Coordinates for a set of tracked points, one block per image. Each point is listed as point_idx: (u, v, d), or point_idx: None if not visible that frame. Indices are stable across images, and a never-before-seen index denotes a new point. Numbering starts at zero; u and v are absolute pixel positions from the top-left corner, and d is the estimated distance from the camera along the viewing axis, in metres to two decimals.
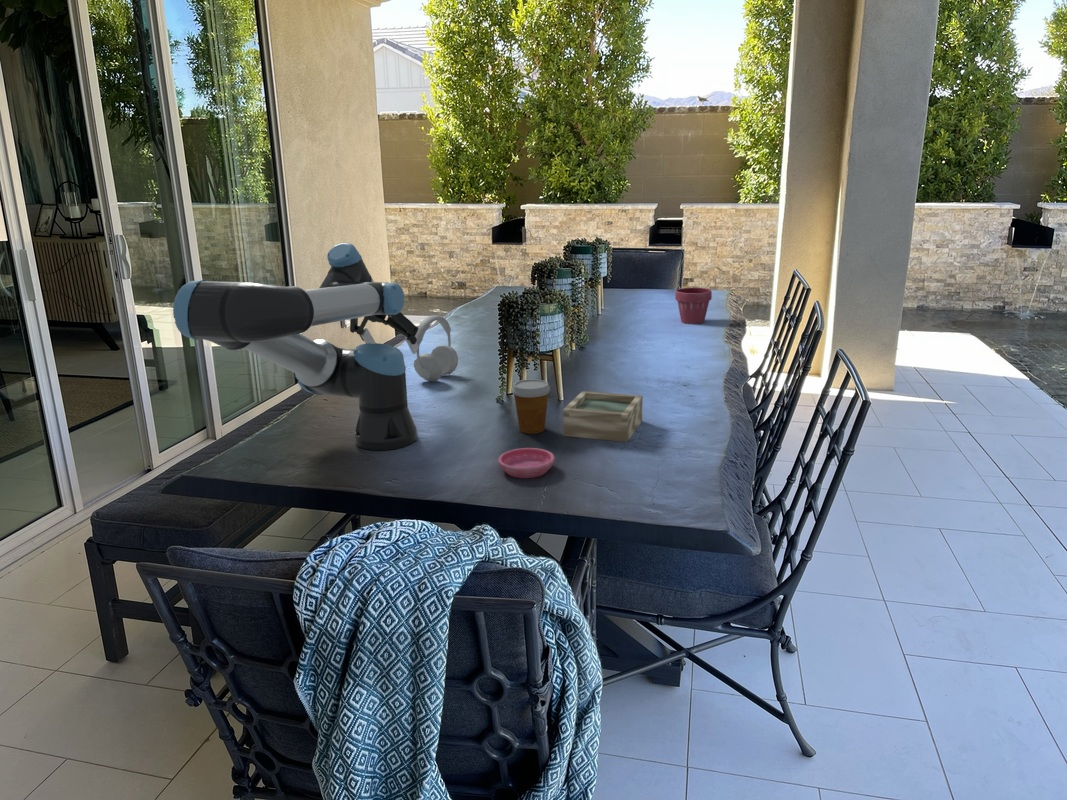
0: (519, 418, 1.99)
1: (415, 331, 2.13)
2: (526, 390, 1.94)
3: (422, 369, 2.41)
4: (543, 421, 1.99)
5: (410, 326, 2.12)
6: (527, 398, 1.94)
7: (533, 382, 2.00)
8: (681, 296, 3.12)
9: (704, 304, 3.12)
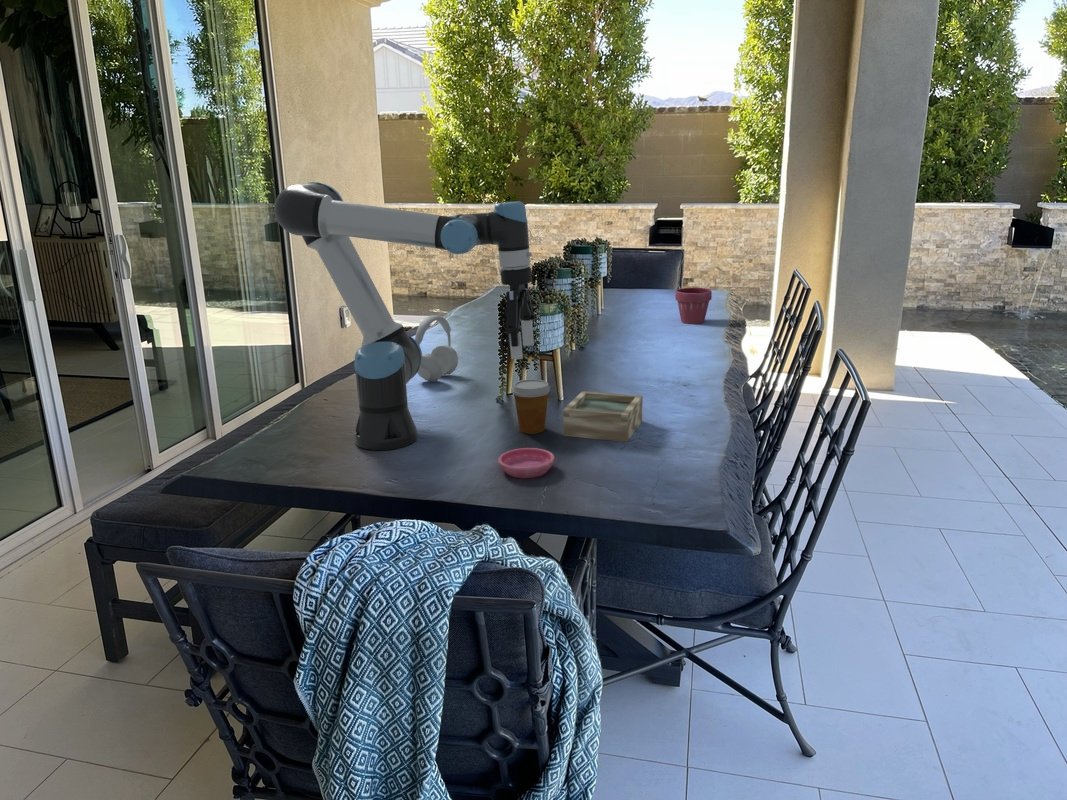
0: (519, 418, 1.99)
1: (510, 328, 1.89)
2: (526, 390, 1.94)
3: (422, 369, 2.41)
4: (543, 421, 1.99)
5: (510, 320, 1.89)
6: (527, 398, 1.94)
7: (533, 382, 2.00)
8: (681, 296, 3.12)
9: (704, 304, 3.12)
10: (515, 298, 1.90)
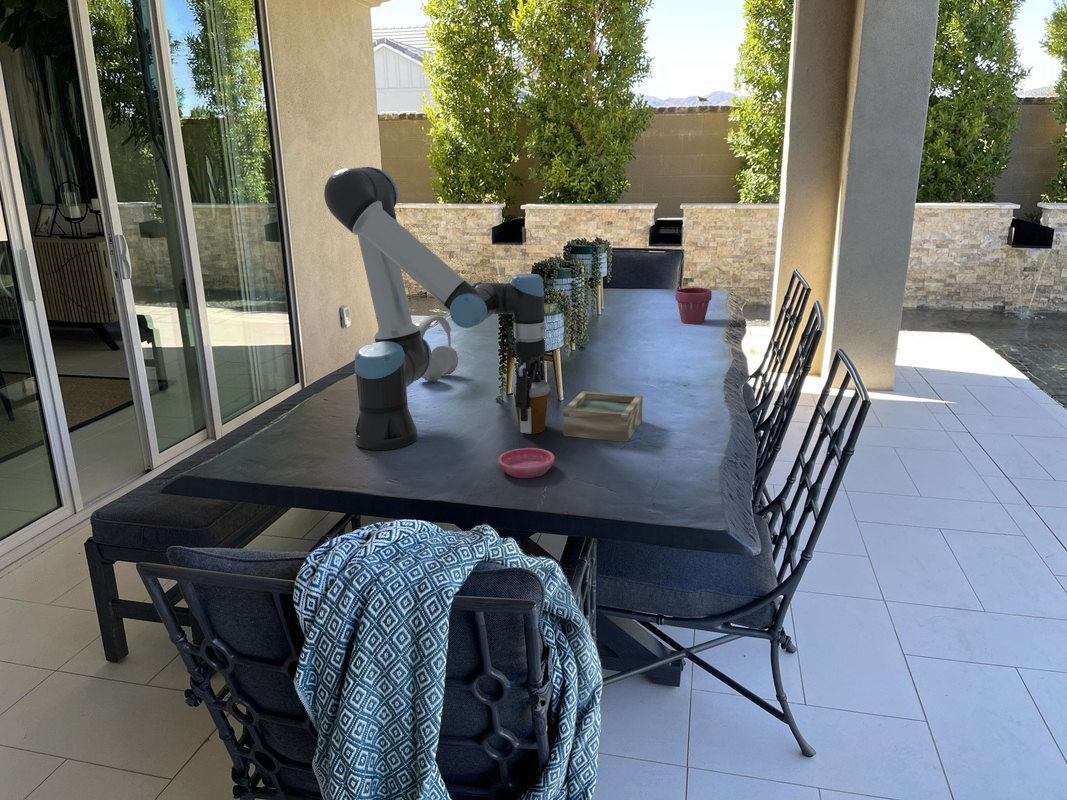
0: (519, 418, 1.99)
1: (519, 405, 1.92)
2: None
3: None
4: (543, 421, 1.99)
5: (520, 397, 1.92)
6: None
7: (533, 382, 2.00)
8: (681, 296, 3.12)
9: (704, 304, 3.12)
10: (524, 375, 1.90)
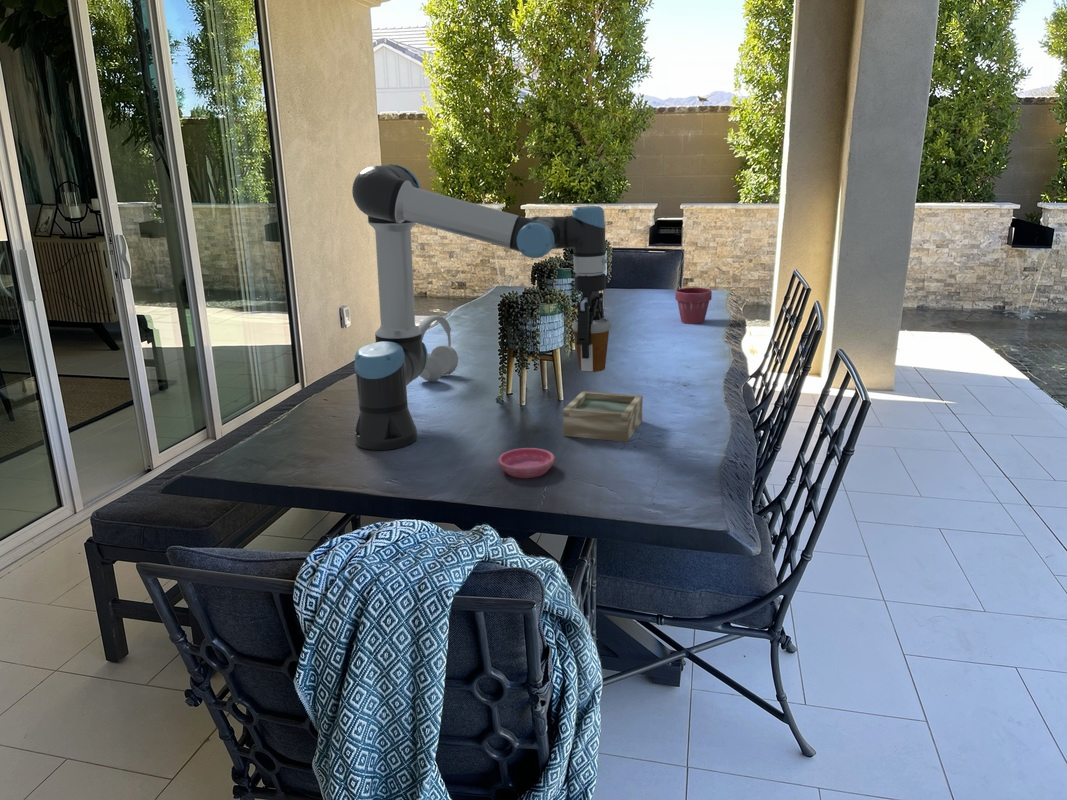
0: (579, 356, 1.93)
1: (581, 341, 1.87)
2: None
3: None
4: (604, 359, 1.94)
5: (581, 332, 1.87)
6: None
7: (593, 320, 1.95)
8: (681, 296, 3.12)
9: (704, 304, 3.12)
10: (586, 310, 1.85)
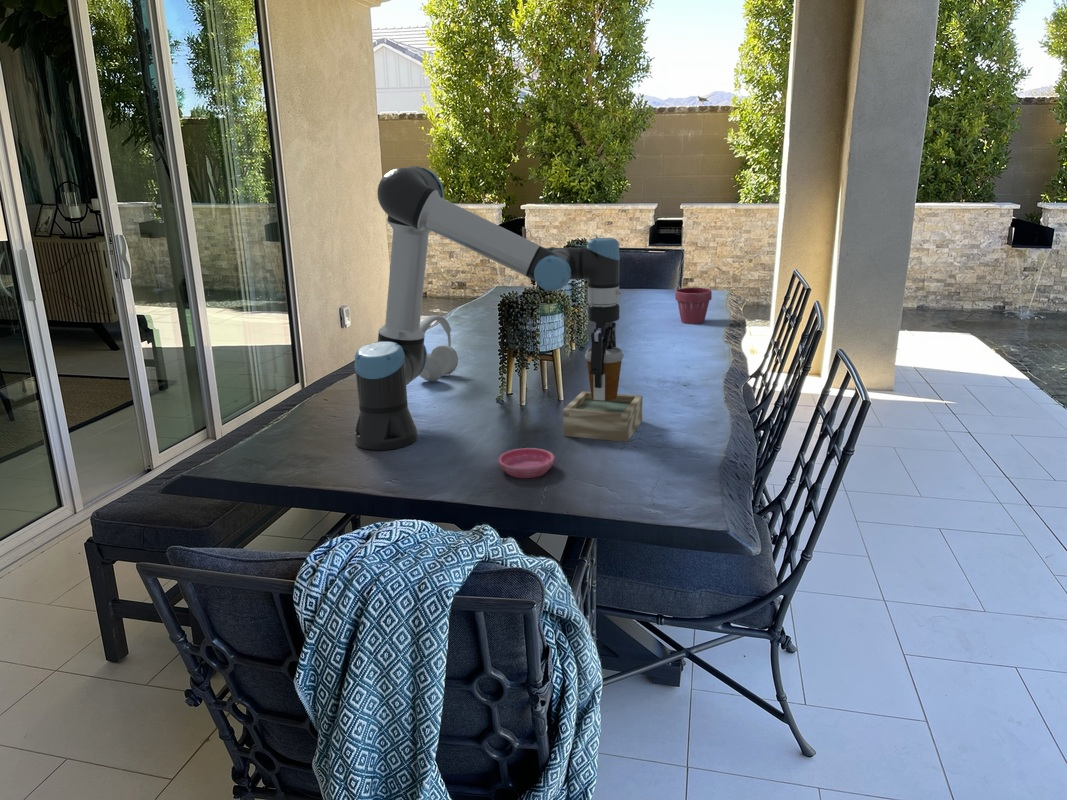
0: (592, 385, 1.96)
1: (594, 371, 1.89)
2: None
3: None
4: (616, 388, 1.96)
5: (595, 362, 1.89)
6: None
7: None
8: (681, 296, 3.12)
9: (704, 304, 3.12)
10: (600, 340, 1.88)
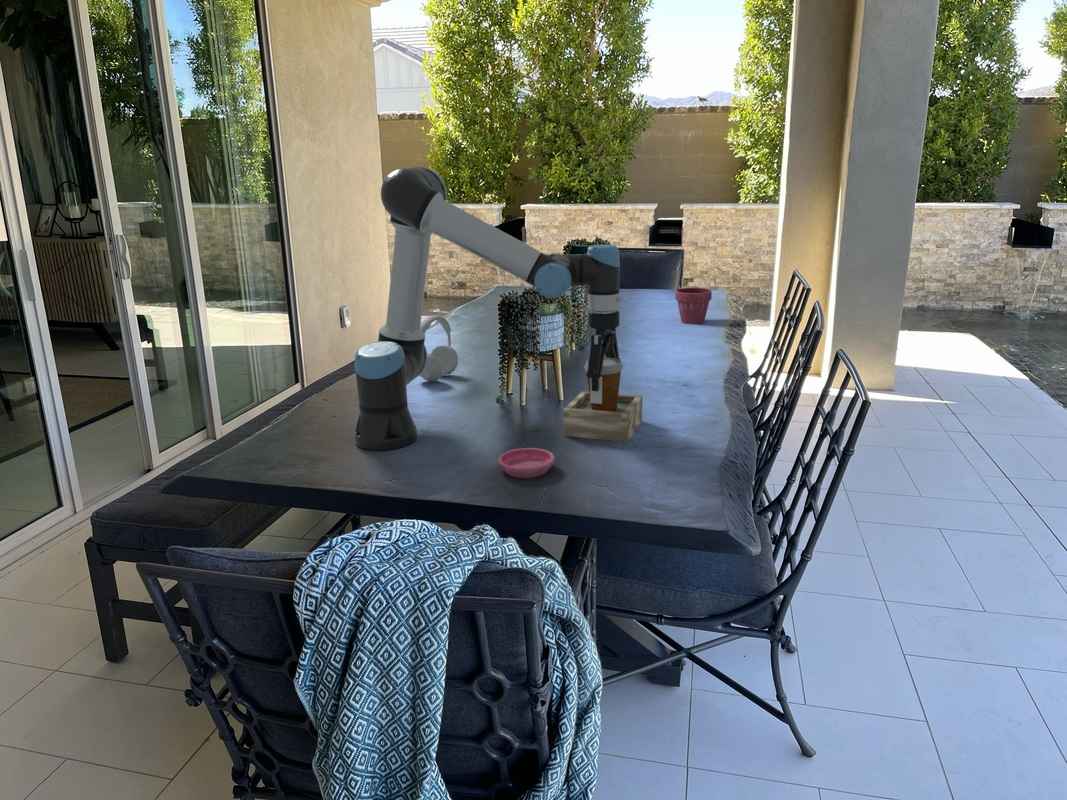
0: None
1: (591, 373, 1.87)
2: None
3: None
4: (616, 398, 1.97)
5: (593, 365, 1.87)
6: (602, 375, 1.93)
7: (604, 360, 1.98)
8: (681, 296, 3.12)
9: (704, 304, 3.12)
10: (599, 343, 1.87)
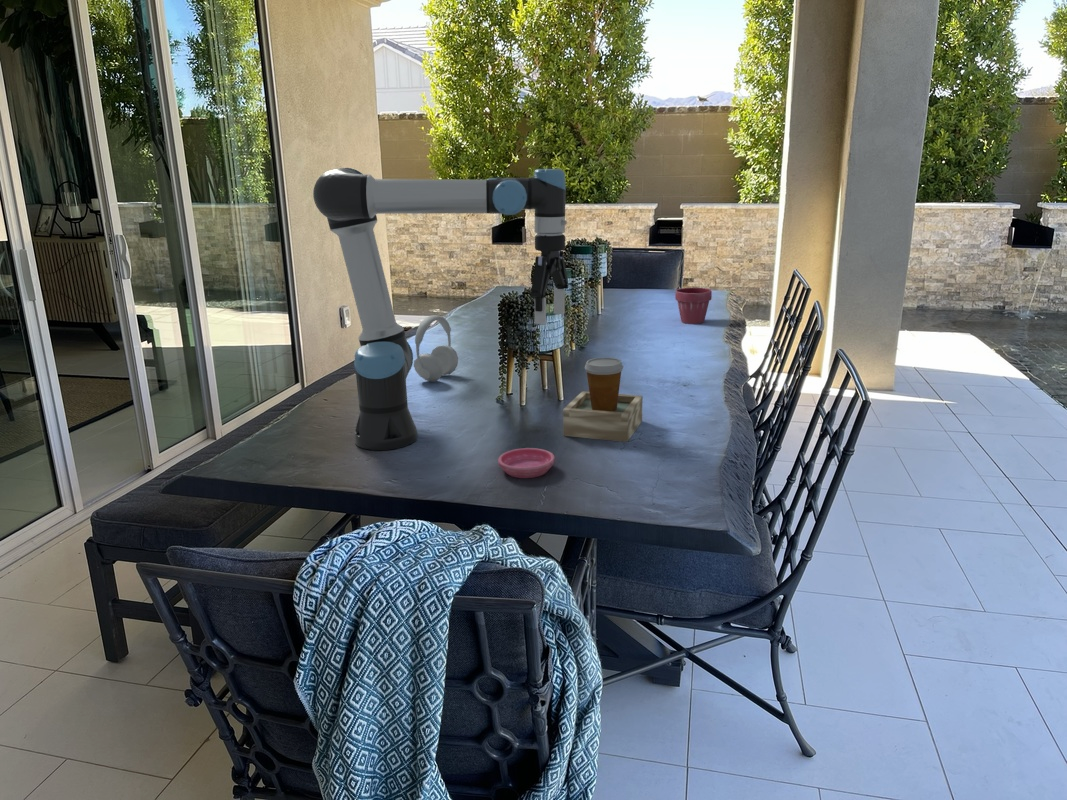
0: (592, 396, 1.97)
1: (534, 292, 1.92)
2: (601, 367, 1.92)
3: (422, 369, 2.41)
4: (616, 399, 1.97)
5: (536, 284, 1.92)
6: (602, 376, 1.93)
7: (605, 360, 1.98)
8: (681, 296, 3.12)
9: (704, 304, 3.12)
10: (543, 264, 1.92)
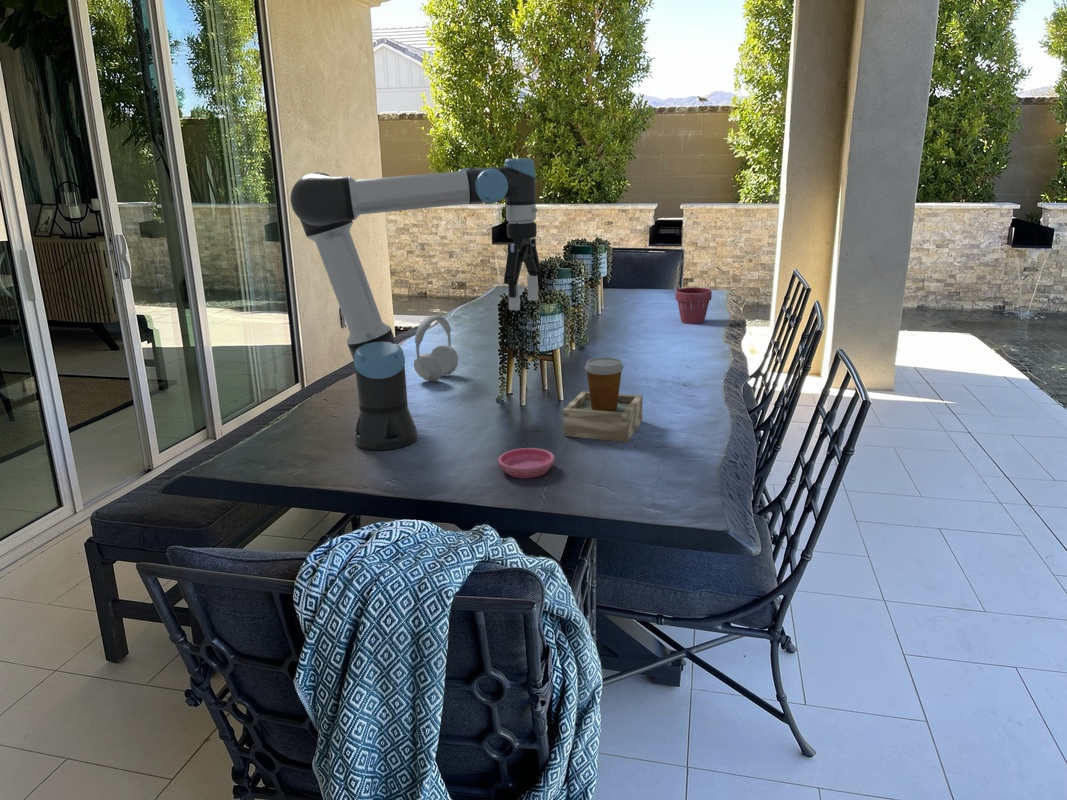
0: (592, 396, 1.97)
1: (508, 279, 1.97)
2: (601, 367, 1.92)
3: (422, 369, 2.41)
4: (616, 399, 1.97)
5: (509, 271, 1.97)
6: (602, 376, 1.93)
7: (605, 360, 1.98)
8: (681, 296, 3.12)
9: (704, 304, 3.12)
10: (515, 250, 1.98)
